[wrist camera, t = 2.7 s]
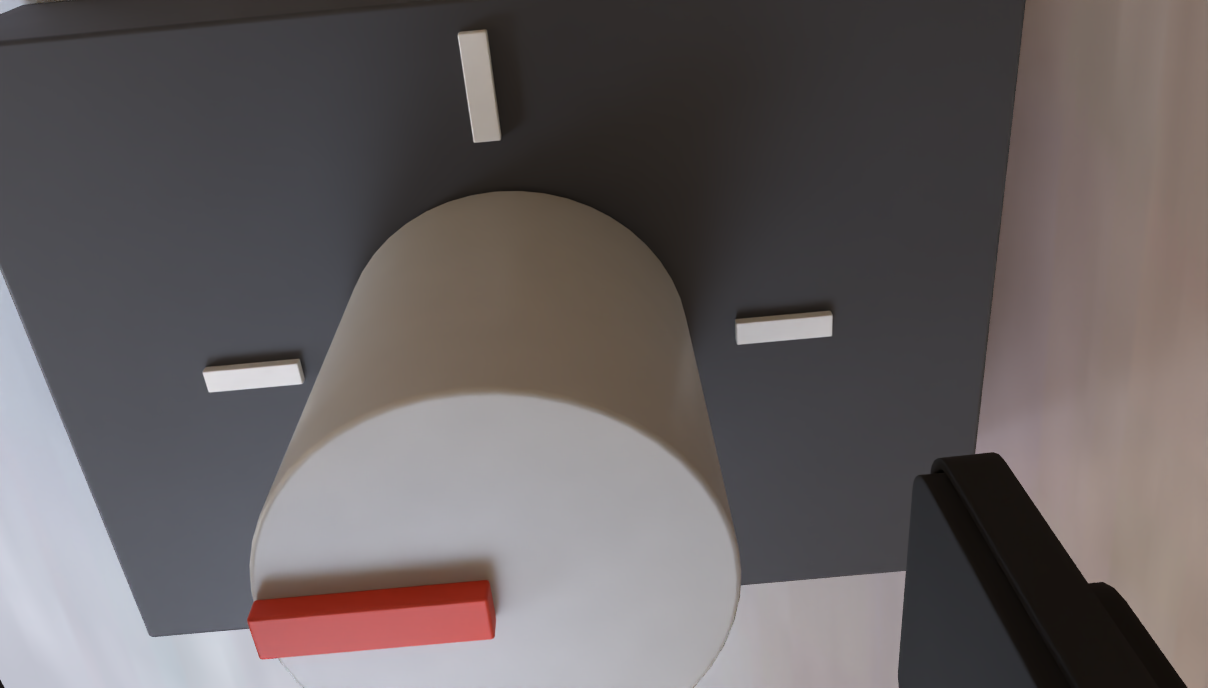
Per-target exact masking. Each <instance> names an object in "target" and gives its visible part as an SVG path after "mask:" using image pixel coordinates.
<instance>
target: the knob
mask: <svg viewBox="0 0 1208 688" xmlns="http://www.w3.org/2000/svg"><path fill="white" fill-rule="evenodd" d="M249 567H250V581H251V592H252V597H253V601H254V602H253V605H252V608H251V610H250V613H249V616H248V618H247V622H248V625H249V628H250V631H251V634H252V637H253V640H254V643H255V646H256V649H257V652H258V655H259V658H260V659H273V658H278V659H279V661H280V662H281V664H282V665H283V666H284V667H285V668H286V670H287V671H288V672H289V673H290V674H291V676H292V677H293V678H294V679H295V680H296V682H297V683H298V684H299V685H300V686H302V687H303V688H694V687H695V686H696V685H697V683H698V682H699V681H700V680H701V678H702V677H703V676H704V675H705V673H706V672H707V671H708V670H709V669H710V667H711V666H712V664H713V663H714V661H715V659H716V658H717V656H718V655H719V653H720V651H721V650H722V648H723V646H724V644H725V642H726V639H727V637H728V634H729V632H730V630H731V627H732V625H733V622H734V619H735V615H736V611H737V606H738V602H739V598H740V586H741V565H740V556H739V547H738V543H737V539H736V534H735V530H734V525H733V521H732V517H731V512H730V508H729V504H728V499H727V495H726V491H725V486H724V482H723V477H722V473H721V469H720V464H719V460H718V456H717V451H716V447H715V442H714V438H713V434H712V429H711V425H710V421H709V416H708V412H707V408H706V403H705V399H704V394H703V390H702V386H701V381H700V377H699V373H698V368H697V364H696V360H695V355H694V351H693V346H692V342H691V338H690V333H689V329H688V325H687V320H686V316H685V313H684V309H683V306H682V302H681V298H680V296H679V294H678V292H677V290H676V287H675V285H674V283H673V281H672V279H671V277H670V276H669V274H668V272H667V271H666V269H665V268H664V266H663V265H662V263H661V261H660V260H659V259H658V258H657V257H656V256H655V254H654V253H653V252H652V251H651V250H650V249H649V247H648V246H647V245H646V244H645V243H644V242H643V241H641V240H640V239H639V238H638V237H637V236H636V235H635V234H634V233H633V232H631V231H630V230H629V229H627V228H626V227H625V226H623V225H622V224H620V223H619V222H617V221H616V220H614V219H613V218H611V217H610V216H608V215H606V214H604V213H602V212H600V211H598V210H596V209H594V208H592V207H590V206H587V205H584V204H581V203H579V202H576V201H573V200H570V199H567V198H563V197H558V196H554V195H549V194H545V193H536V192H525V191H499V192H489V193H483V194H476V195H470V196H467V197H464V198H460V199H457V200H453V201H450V202H447V203H445V204H442V205H440V206H438V207H435V208H433V209H431V210H428V211H426V212H425V213H423V214H421V215H420V216H418V217H416V218H415V219H413V220H411V221H410V222H408V223H407V224H405V225H404V226H403V227H402V228H400V229H399V230H398V231H397V232H395V233H394V234H393V235H392V236H391V237H389V238H388V240H387V241H386V242H385V243H384V244H383V245H382V246H381V247H380V248H379V249H378V250H377V251H376V253H375V254H374V255H373V257H372V258H371V260H370V261H369V262H368V264H367V265H366V267H365V268H364V270H363V271H362V273H361V275H360V278H359V280H358V282H357V284H356V286H355V288H354V290H353V292H352V295H351V297H350V300H349V302H348V304H347V307H346V309H345V312H344V314H343V316H342V319H341V321H340V324H339V326H338V328H337V331H336V333H335V336H334V338H333V340H332V343H331V345H330V348H329V350H328V352H327V355H326V357H325V360H324V362H323V364H322V367H321V369H320V372H319V374H318V376H317V379H316V381H315V384H314V386H313V388H312V391H311V393H310V396H309V398H308V400H307V403H306V405H305V408H304V410H303V412H302V415H301V417H300V420H299V422H298V424H297V427H296V429H295V432H294V434H293V436H292V439H291V441H290V444H289V446H288V448H287V451H286V453H285V456H284V458H283V460H282V463H281V465H280V468H279V470H278V472H277V475H276V477H275V480H274V482H273V484H272V487H271V489H270V492H269V494H268V496H267V499H266V501H265V504H264V506H263V508H262V511H261V513H260V516H259V519H258V522H257V526H256V529H255V533H254V536H253V540H252V547H251V556H250V565H249Z"/></svg>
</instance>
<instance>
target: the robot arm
mask: <svg viewBox="0 0 1208 688" xmlns="http://www.w3.org/2000/svg"><path fill="white" fill-rule="evenodd" d="M898 682H899V688H1187V686H1186V685H1185V684H1184V682H1183V681H1182V679H1181V678H1180V677H1179V675H1178V674H1177V672H1176V671H1175V670H1174V668H1173V667H1172V665H1171V664H1170V663H1169V661H1168V660H1167V658H1166V657H1165V656H1164V654H1163V653H1162V651H1161V650H1160V648H1159V647H1158V646H1157V644H1156V643H1155V641H1154V640H1153V639H1152V637H1151V636H1150V634H1149V633H1148V632H1147V630H1146V629H1145V627H1144V626H1143V625H1142V623H1141V622H1140V620H1139V619H1138V618H1137V616H1136V615H1135V613H1134V612H1133V611H1132V609H1131V608H1130V606H1129V605H1128V604H1127V602H1126V601H1125V600H1124V598H1123V597H1122V596H1121V595H1120V594H1119V593H1118V592H1117V591H1116V590H1115V588H1113V587H1111V586H1109V585H1108V584H1106V583H1104V582H1099V583H1089V584H1088V583H1087V581H1086V580H1085V578H1084V577H1083V575H1082V574H1081V572H1080V571H1079V569H1078V568H1077V566H1076V565H1075V563H1074V562H1073V561H1072V559H1071V558H1070V556H1069V555H1068V553H1067V552H1066V550H1065V549H1064V547H1063V546H1062V544H1061V543H1060V541H1059V540H1058V538H1057V537H1056V536H1055V534H1054V533H1053V531H1052V530H1051V528H1050V527H1049V525H1048V524H1047V522H1046V521H1045V519H1044V518H1043V516H1042V515H1041V513H1040V512H1039V511H1038V509H1037V508H1036V506H1035V505H1034V503H1033V502H1032V500H1031V499H1030V497H1029V496H1028V494H1027V493H1026V491H1025V490H1024V488H1023V487H1022V485H1021V484H1020V483H1019V481H1018V480H1017V478H1016V477H1015V475H1014V474H1013V472H1012V471H1011V469H1010V468H1009V466H1008V465H1007V463H1006V462H1005V461H1004V459H1003V458H1002V457H1001V456H1000V455H999V454H996V453H994V452H993V453H982V454H972V455H962V456H952V457H942V458H937V459H936V460H934V462H933V464H932V466H931V472H930V474H925V475H918V476H916V477H915V479H914V482H913V489H912V502H911V514H910V527H909V540H908V553H907V565H906V578H905V591H904V603H903V616H902V629H901V642H900V654H899V667H898ZM0 688H4V686H3V684H2V682H1V680H0Z"/></svg>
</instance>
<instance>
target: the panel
mask: <svg viewBox="0 0 1208 688" xmlns="http://www.w3.org/2000/svg"><path fill="white" fill-rule="evenodd" d="M1025 1H1026V0H70V1H59V2H49V3H38V4H28V5H22V6H20V7H17V8H15V9H12V10H10V11H7V12H5V13H2V14H0V270H1V272H2V275H3V277H4V279H5V282H6V284H7V287H8V289H9V292H10V294H11V297H12V299H13V302H14V304H15V306H16V309H17V311H18V314H19V316H20V319H21V321H22V324H23V326H24V329H25V331H26V333H27V336H28V338H29V341H30V343H31V346H32V348H33V351H34V353H35V356H36V358H37V360H38V363H39V365H40V368H41V370H42V373H43V375H44V378H45V380H46V383H47V385H48V387H49V390H50V392H51V395H52V397H53V400H54V402H55V405H56V407H57V410H58V412H59V415H60V417H61V419H62V422H63V424H64V427H65V429H66V432H67V434H68V437H69V439H70V442H71V444H72V446H73V449H74V451H75V454H76V456H77V459H78V461H79V464H80V466H81V469H82V471H83V473H84V476H85V478H86V481H87V483H88V486H89V488H90V491H91V493H92V496H93V498H94V500H95V503H96V505H97V508H98V510H99V513H100V515H101V518H102V520H103V523H104V525H105V527H106V530H107V532H108V535H109V537H110V540H111V542H112V545H113V547H114V550H115V552H116V555H117V557H118V559H119V562H120V564H121V567H122V569H123V572H124V574H125V577H126V579H127V582H128V584H129V586H130V589H131V591H132V594H133V596H134V599H135V601H136V604H137V606H138V609H139V611H140V613H141V616H142V618H143V621H144V623H145V626H146V628H147V631H148V633H149V635H150V636H152V637H158V636H169V635H181V634H192V633H203V632H215V631H226V630H238V629H249V625H248V622H247V618H248V616H249V613H250V610H251V608H252V605H253V602H254V601H253V597H252V592H251V581H250V567H249V565H250V556H251V547H252V540H253V536H254V533H255V529H256V526H257V522H258V519H259V516H260V513H261V511H262V508H263V506H264V504H265V501H266V499H267V496H268V494H269V492H270V489H271V487H272V484H273V482H274V480H275V477H276V475H277V472H278V470H279V468H280V465H281V463H282V460H283V458H284V456H285V453H286V451H287V448H288V446H289V444H290V441H291V439H292V436H293V434H294V432H295V429H296V427H297V424H298V422H299V420H300V417H301V415H302V412H303V410H304V408H305V405H306V403H307V400H308V398H309V396H310V393H311V391H312V388H313V386H314V384H315V381H316V379H317V376H318V374H319V372H320V369H321V367H322V364H323V362H324V360H325V357H326V355H327V352H328V350H329V348H330V345H331V343H332V340H333V338H334V336H335V333H336V331H337V328H338V326H339V324H340V321H341V319H342V316H343V314H344V312H345V309H346V307H347V304H348V302H349V300H350V297H351V295H352V292H353V290H354V288H355V286H356V284H357V282H358V280H359V278H360V275H361V273H362V271H363V270H364V268H365V267H366V265H367V264H368V262H369V261H370V260H371V258H372V257H373V255H374V254H375V253H376V251H377V250H378V249H379V248H380V247H381V246H382V245H383V244H384V243H385V242H386V241H387V240H388V238H389V237H391V236H392V235H393V234H394V233H395V232H397V231H398V230H399V229H400V228H402V227H403V226H404V225H405V224H407V223H408V222H410V221H411V220H413V219H415V218H416V217H418V216H420V215H421V214H423V213H425V212H426V211H428V210H431V209H433V208H435V207H438V206H440V205H442V204H445V203H447V202H450V201H453V200H457V199H460V198H464V197H467V196H470V195H476V194H483V193H489V192H499V191H525V192H536V193H545V194H549V195H554V196H558V197H563V198H567V199H570V200H573V201H576V202H579V203H581V204H584V205H587V206H590V207H592V208H594V209H596V210H598V211H600V212H602V213H604V214H606V215H608V216H610V217H611V218H613V219H614V220H616V221H617V222H619V223H620V224H622V225H623V226H625V227H626V228H627V229H629V230H630V231H631V232H633V233H634V234H635V235H636V236H637V237H638V238H639V239H640V240H641V241H643V242H644V243H645V244H646V245H647V246H648V247H649V249H650V250H651V251H652V252H653V253H654V254H655V256H656V257H657V258H658V259H659V260H660V261H661V263H662V265H663V266H664V268H665V269H666V271H667V272H668V274H669V276H670V277H671V279H672V281H673V283H674V285H675V287H676V290H677V292H678V294H679V296H680V298H681V302H682V306H683V309H684V313H685V316H686V320H687V325H688V329H689V333H690V338H691V342H692V346H693V351H694V355H695V360H696V364H697V368H698V373H699V377H700V381H701V386H702V390H703V394H704V399H705V403H706V408H707V412H708V416H709V421H710V425H711V429H712V434H713V438H714V442H715V447H716V451H717V456H718V460H719V464H720V469H721V473H722V477H723V482H724V486H725V491H726V495H727V499H728V504H729V508H730V512H731V517H732V521H733V525H734V530H735V534H736V539H737V543H738V547H739V556H740V565H741V585H749V584H761V583H772V582H783V581H795V580H806V579H817V578H829V577H840V576H851V575H863V574H874V573H886V572H897V571H906V565H907V553H908V540H909V527H910V514H911V502H912V489H913V482H914V479H915V477H916V476H918V475H925V474H930V472H931V466H932V464H933V462H934V460H936V459H937V458H942V457H952V456H962V455H972V454H975V449H976V440H977V431H978V422H979V413H980V405H981V396H982V387H983V378H984V369H985V360H986V351H987V342H988V333H989V324H990V315H991V306H992V297H993V288H994V279H995V270H996V261H997V252H998V243H999V234H1000V225H1001V216H1002V207H1003V198H1004V189H1005V180H1006V171H1007V162H1008V154H1009V145H1010V136H1011V127H1012V118H1013V109H1014V100H1015V91H1016V82H1017V73H1018V64H1019V55H1020V46H1021V37H1022V28H1023V19H1024V10H1025Z"/></svg>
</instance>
